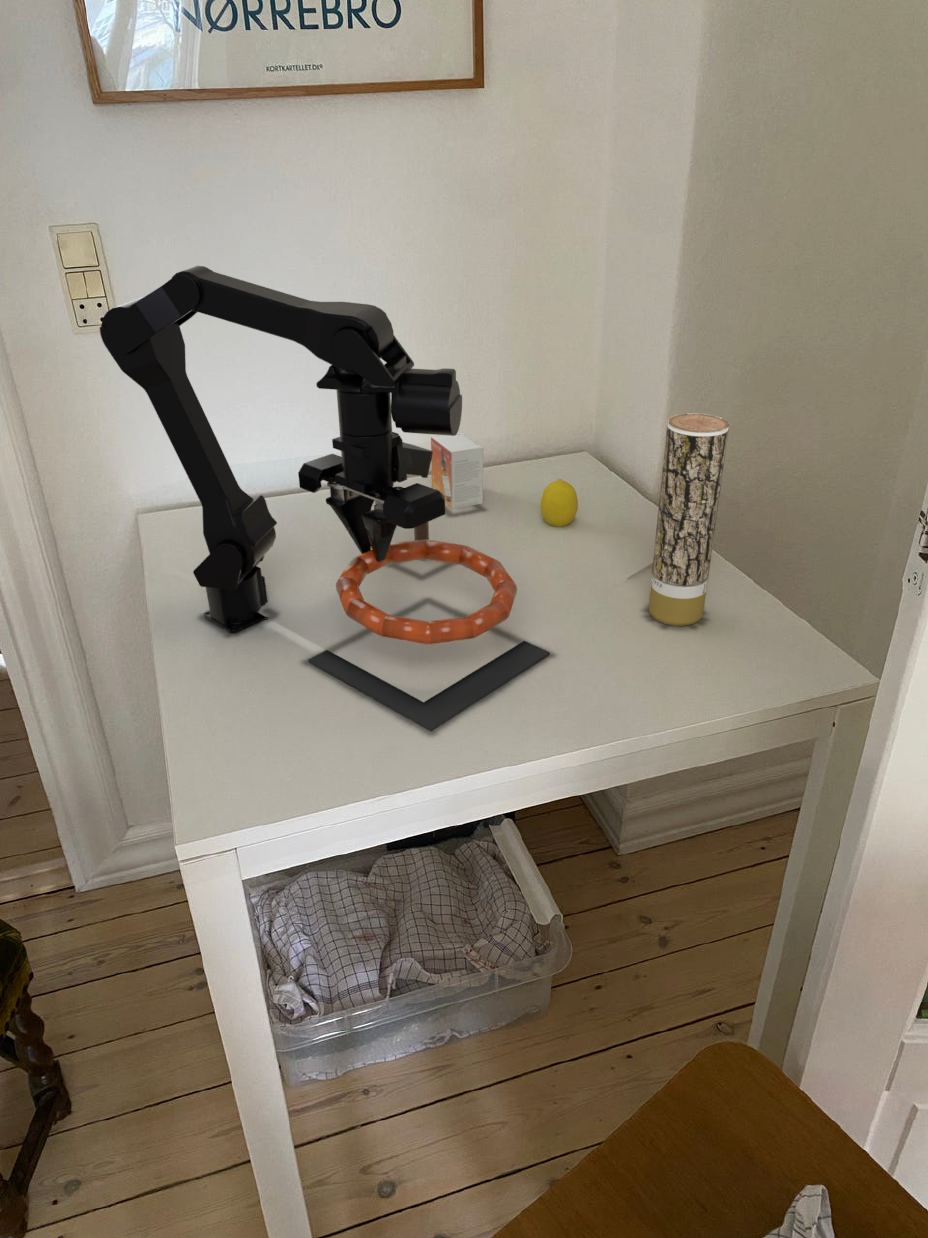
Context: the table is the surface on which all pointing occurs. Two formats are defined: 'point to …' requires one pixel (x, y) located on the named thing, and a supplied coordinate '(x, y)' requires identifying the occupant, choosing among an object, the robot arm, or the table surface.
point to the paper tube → (687, 516)
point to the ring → (417, 628)
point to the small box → (457, 469)
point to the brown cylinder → (421, 532)
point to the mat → (448, 699)
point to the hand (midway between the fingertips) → (373, 557)
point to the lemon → (559, 503)
